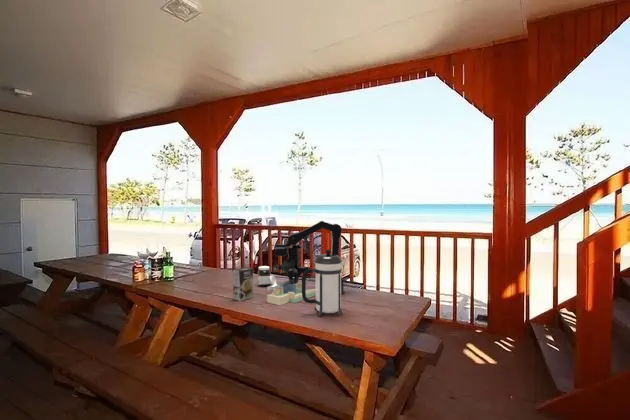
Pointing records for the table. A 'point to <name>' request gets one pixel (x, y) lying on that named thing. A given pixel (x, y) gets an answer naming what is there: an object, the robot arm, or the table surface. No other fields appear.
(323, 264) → the coffee press
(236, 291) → the coffee box
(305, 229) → the robot arm
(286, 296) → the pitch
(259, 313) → the table surface
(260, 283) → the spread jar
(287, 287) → the rod
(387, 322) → the table surface
